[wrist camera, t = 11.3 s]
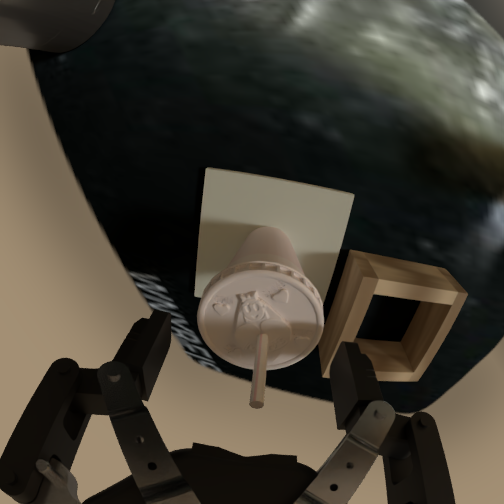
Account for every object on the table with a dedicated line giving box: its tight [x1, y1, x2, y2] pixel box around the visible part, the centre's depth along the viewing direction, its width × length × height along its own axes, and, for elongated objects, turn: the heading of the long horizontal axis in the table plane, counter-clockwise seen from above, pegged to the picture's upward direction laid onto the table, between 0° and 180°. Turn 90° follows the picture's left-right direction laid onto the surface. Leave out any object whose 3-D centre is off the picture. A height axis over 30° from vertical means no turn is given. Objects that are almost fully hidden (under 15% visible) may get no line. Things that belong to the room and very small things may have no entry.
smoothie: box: [197, 226, 324, 409], centre depth 17 cm, size 6×6×14 cm
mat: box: [195, 167, 354, 303], centre depth 23 cm, size 11×11×1 cm
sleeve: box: [318, 250, 468, 381], centre depth 23 cm, size 10×10×4 cm
